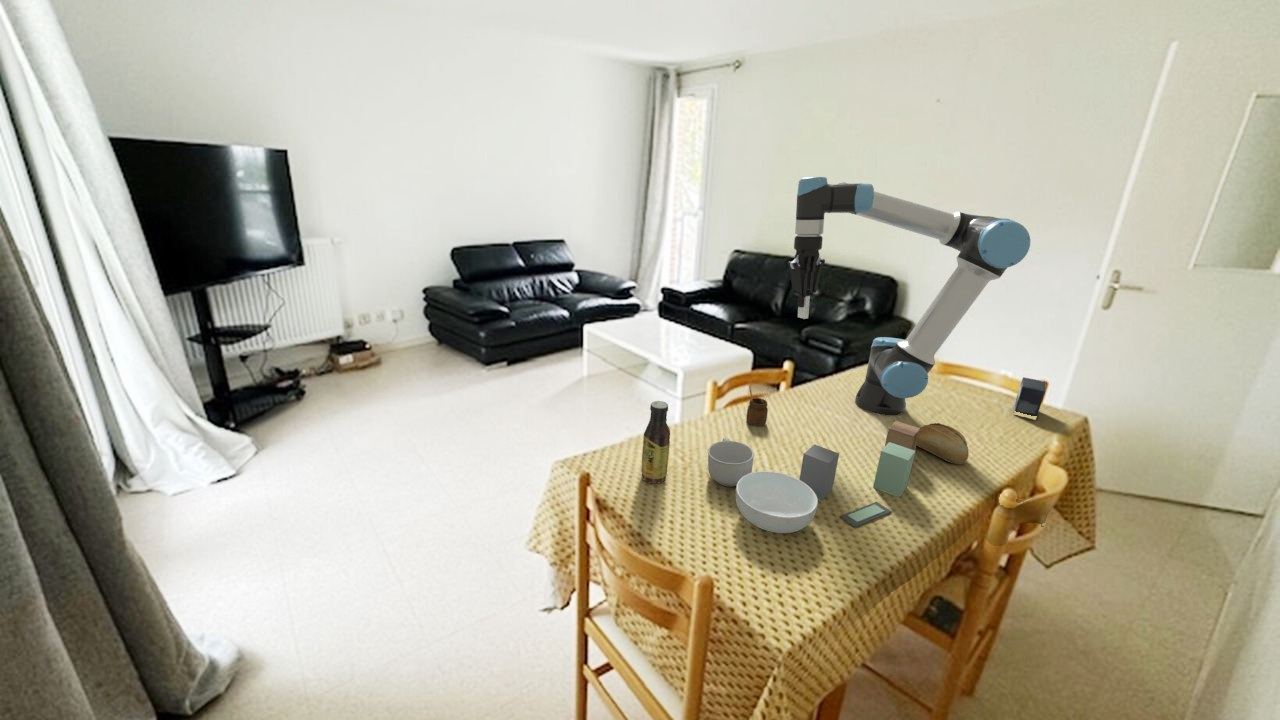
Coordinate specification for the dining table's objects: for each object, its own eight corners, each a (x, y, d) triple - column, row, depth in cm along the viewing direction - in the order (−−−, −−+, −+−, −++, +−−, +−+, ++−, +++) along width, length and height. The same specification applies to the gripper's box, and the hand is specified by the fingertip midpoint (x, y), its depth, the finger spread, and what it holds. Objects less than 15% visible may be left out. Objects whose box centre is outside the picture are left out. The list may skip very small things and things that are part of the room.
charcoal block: (808, 480, 128) (814, 444, 124) (832, 490, 124) (839, 453, 121) (797, 490, 123) (803, 453, 120) (822, 501, 120) (829, 463, 116)
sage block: (881, 477, 130) (889, 442, 127) (906, 487, 127) (915, 450, 123) (873, 487, 126) (881, 450, 123) (899, 497, 122) (908, 460, 119)
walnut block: (888, 453, 142) (895, 420, 138) (911, 462, 138) (920, 428, 135) (881, 462, 137) (888, 428, 134) (905, 470, 134) (913, 436, 130)
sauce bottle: (636, 473, 128) (640, 399, 121) (660, 469, 130) (664, 396, 123) (647, 488, 122) (651, 411, 115) (671, 482, 124) (677, 407, 118)
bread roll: (919, 438, 152) (925, 413, 149) (974, 460, 140) (981, 434, 137) (901, 446, 146) (907, 420, 144) (956, 471, 135) (964, 443, 132)
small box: (1013, 404, 177) (1022, 376, 173) (1036, 410, 173) (1046, 381, 170) (1012, 415, 169) (1021, 385, 165) (1036, 421, 165) (1046, 390, 162)
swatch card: (876, 503, 120) (876, 500, 120) (891, 512, 117) (891, 510, 116) (839, 517, 114) (840, 515, 114) (854, 528, 111) (855, 525, 111)
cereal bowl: (763, 554, 102) (767, 524, 100) (718, 506, 116) (721, 479, 114) (830, 534, 109) (836, 505, 106) (780, 491, 123) (784, 464, 121)
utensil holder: (768, 427, 154) (773, 390, 150) (746, 426, 154) (751, 389, 150) (764, 418, 159) (768, 382, 155) (743, 417, 159) (747, 381, 155)
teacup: (750, 495, 121) (754, 465, 118) (703, 488, 123) (706, 458, 120) (750, 464, 134) (754, 436, 131) (708, 458, 136) (710, 431, 133)
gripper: (813, 233, 153) (808, 312, 159) (782, 236, 146) (777, 318, 153) (835, 234, 146) (828, 317, 153) (803, 237, 140) (797, 323, 147)
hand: (802, 317), depth 153 cm, fingers closed
